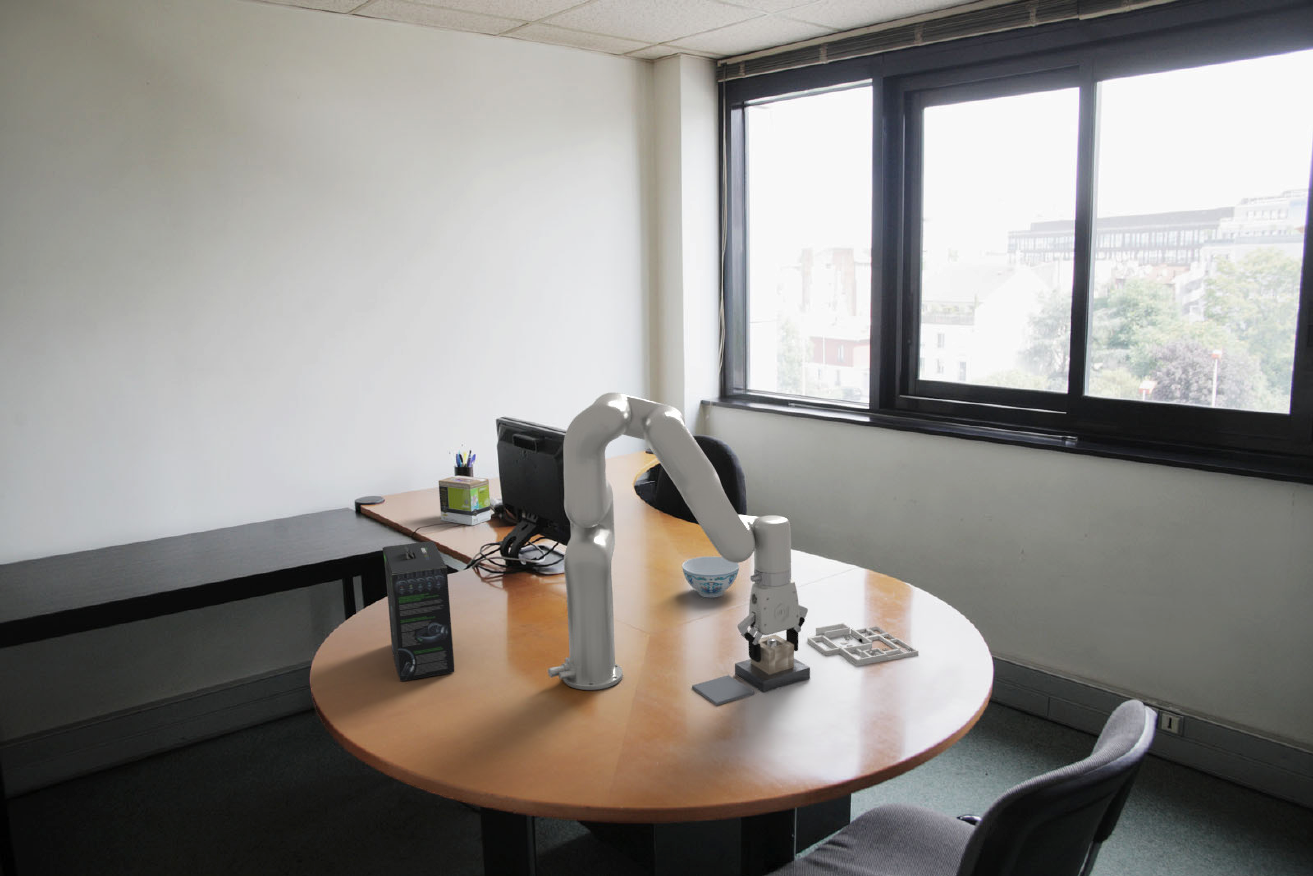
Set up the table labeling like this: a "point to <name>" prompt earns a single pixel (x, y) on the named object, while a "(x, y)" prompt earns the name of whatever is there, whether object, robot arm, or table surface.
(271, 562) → the table surface
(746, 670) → the post stand
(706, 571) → the chinaware
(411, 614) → the headset box
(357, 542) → the table surface
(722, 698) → the mat
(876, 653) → the floor plan model
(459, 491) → the tea box
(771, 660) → the collar
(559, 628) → the table surface
